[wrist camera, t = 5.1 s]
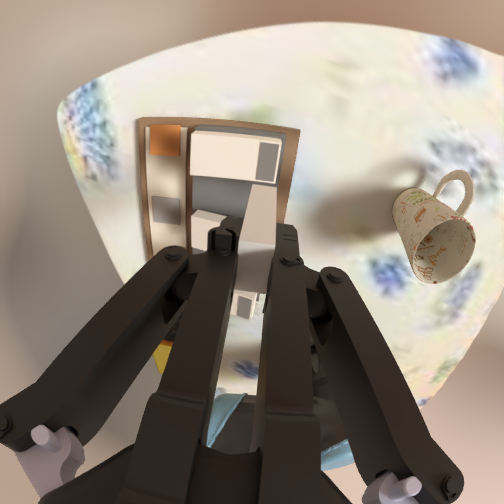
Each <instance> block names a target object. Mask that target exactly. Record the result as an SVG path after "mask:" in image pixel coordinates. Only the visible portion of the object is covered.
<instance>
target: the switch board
mask: <svg viewBox="0 0 504 504" xmlns="http://www.w3.org/2000/svg"><path fill="white" fill-rule="evenodd" d="M194 131H210V132H224V133H235V134H245V135H255V136H263V137H271V138H278V139H281V141H282V145H281V151H280V158H279V164H278V170H277V177H276V183H275V184H273V183H266V182H257V181H249V180H240V179H230V178H220V177H209V176H197V175H190V156H191V134H192V133H193V132H194ZM299 137H300V129H294V128H288V127H282V126H275V125H268V124H261V123H252V122H243V121H233V120H222V119H208V118H188V117H142V118H139V153H140V175H141V191H142V203H143V214H144V224H145V233H146V242H147V250H148V257H149V260H150V259H151V258H152V257H153V256H155V255H156V254H157V253H158V252H159V251H160V250H161V249H163V248H164V247H167V246H172V245H176V246H182V247H184V248H186V250H187V251H188V254H189V255H191V254H200V253H204V252H206V251H204V250H200V249H197V248H193V247H192V241H191V216H192V215H193V214H194V213H195V212H196V211H197V210H202V211H206V212H210V213H215V214H219V215H223V216H236V217H238V218H242V219H244V217H245V213H246V209H247V205H248V201H249V197H250V193H251V189H252V185H253V184H256V185H263V186H270V187H277V204H276V223H281V224H284V218H285V213H286V208H287V203H288V198H289V192H290V187H291V181H292V176H293V171H294V165H295V159H296V154H297V148H298V142H299ZM266 292H267V291H266ZM259 295H260V293H257V298H256V301H258V300H259Z"/></svg>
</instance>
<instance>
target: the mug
mask: <svg viewBox="0 0 504 504" xmlns="http://www.w3.org/2000/svg"><path fill="white" fill-rule="evenodd" d="M452 180H461V181H462V182H463V183H464V185H465V197H464V199H463V201H462V203H461V204H460V206H459V207H458V209H457V210H456V211H454V210H453V209H451V208H450V207H448V206H447V205H445V204H444V203H442V202H441V201H439V200H438V199H436V198H437V197H438V196H439V194H440V193H441V191H442V190H443V188H444V187H445V185H446V184H447V183H449V182H450V181H452ZM473 199H474V184H473V180H472V178H471V176H470V175H469V174H468V173H467V172H465V171H463V170H455V171H452V172H450V173H449V174H447V175H446V176H445V177H443V178H442V179H441V181H440V182H439V184H438V186H437V188H436V190H435V192H434V194H433V196H432V195H430V194H429V193H427V192H426V191H424V190H422V189H419V188H411V189H408V190H405V191H404V192H402V193H401V194H400V195H399V196H398V197H397V199H396V200H395V202H394V205H393V209H392V215H393V219H394V222H395V224H396V227H397V229H398V232H399V234H400V237H401V240H402V242H403V245H404V248H405V250H406V253H407V256H408V259H409V262H410V264H411V267H412V270H413V272H414V274H415V275H416V277H417V278H418V279H419V280H421V281H422V282H425V283H429V284H437V283H442V282H445V281H447V280H449V279H451V278H453V277H454V276H456V275H457V274H458V273H459V272H460V271H461V270H462V269H463V268H464V267H465V266H466V265H467V263H468V262H469V260H470V258H471V256H472V254H473V251H474V248H475V232H474V229H473V227H472V225H471V224H470V223H469V222H468V221H467V220H466V219H465V218H464V215H465V214H466V212H467V211H468V209H469V207H470V205H471V204H472V202H473Z"/></svg>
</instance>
